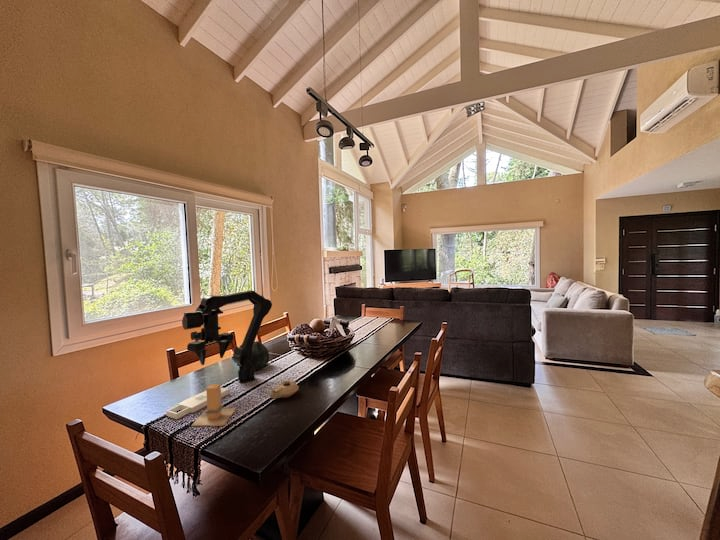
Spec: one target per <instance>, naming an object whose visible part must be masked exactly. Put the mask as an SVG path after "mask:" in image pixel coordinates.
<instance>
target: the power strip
mask: <svg viewBox="0 0 720 540" xmlns="http://www.w3.org/2000/svg"><path fill="white" fill-rule="evenodd" d="M229 394H230V389H229V388H226V387H221V399H222V398H223V397H226V396H228V395H229ZM205 407H207V391H206V390H204V391H202V392H200V393H197V394H195V395H193V396H191V397H189V398H187V399H185V400H183V401H180V402H179V403H177V405H176V406H173V407H171V408H169V409H167V410H166V411H165V412H166V417H167V416H168V418H170V419H171V418H172V419H174V420H179V419H180V418H182V417H184V416H186V415H188V414H193V413H196V412H197V411H200V410H201V409H203V408H205ZM179 410H180V411H179ZM177 411H178V412H177Z"/></svg>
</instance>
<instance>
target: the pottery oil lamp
mask: <svg viewBox="0 0 720 540" xmlns="http://www.w3.org/2000/svg"><path fill="white" fill-rule="evenodd" d="M299 387H300V386H299V385H298V384H297V381H295V380H292V381H290V380H285V381H282V382H281V383H280V384H279V385H278V386H277V387H276V388H274V389H273V390H271V391H270V392H269V395H268V397H269V398H271V399H280V398H284V399H285V398H290V397H291V396H292V395H294V394H295V393H297V392H298V390H299V389H300V388H299Z"/></svg>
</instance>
